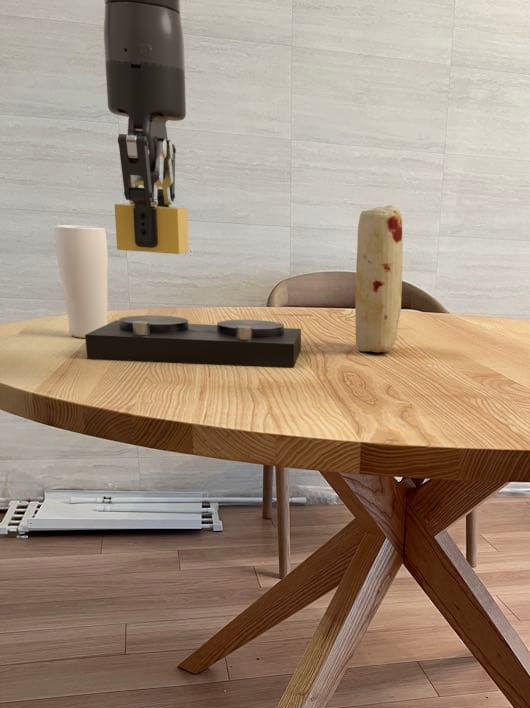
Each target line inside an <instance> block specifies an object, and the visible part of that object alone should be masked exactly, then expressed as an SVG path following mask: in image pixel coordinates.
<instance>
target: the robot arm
mask: <svg viewBox="0 0 530 708" xmlns="http://www.w3.org/2000/svg"><path fill="white" fill-rule="evenodd" d="M182 27H183V26H182V16H181V0H104V20H103V45H104V62H105V77H106V78H105V79H106V97H107V109H108V111H109V112H110V113H112V114H114V115H117V116H121V117H126V118H128V120H127V122H128V123H127V134H126V133H125V134H124V133H119V134H118V137H117V144H118V151H119V157H120V158H119V159H120V166H121V173H122V174H121V175H122V183H123V195H124V198H125V200H126V201H129V204H131V206H132V207H135V208H133V212H134V232H135V243H136V245H137V246H139V247H149V248H154V247H156V246H157V245H158V228H157V210H156V209H152V208H157V206H160V207H172V205H173V202H175V199H176V194H175V193H176V192H175V191H176V190H175V189H176V188H175V187H176V185H175V184H176V153H177V148H176V146H175V144H174V143H173V142H172V139H169V137H168V132H167V122H169V121H171V122H175V121H176V122H178V121H183V120H184V119H185V118H186V115H187V111H186V110H187V108H186V107H187V106H186V71H185V69H186V67H185V66H186V65H185V41H184V33H183V28H182ZM140 186H141V187H140ZM160 187H161V188H160Z"/></svg>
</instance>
